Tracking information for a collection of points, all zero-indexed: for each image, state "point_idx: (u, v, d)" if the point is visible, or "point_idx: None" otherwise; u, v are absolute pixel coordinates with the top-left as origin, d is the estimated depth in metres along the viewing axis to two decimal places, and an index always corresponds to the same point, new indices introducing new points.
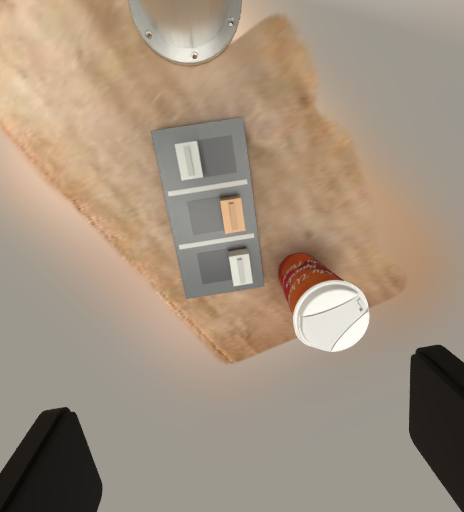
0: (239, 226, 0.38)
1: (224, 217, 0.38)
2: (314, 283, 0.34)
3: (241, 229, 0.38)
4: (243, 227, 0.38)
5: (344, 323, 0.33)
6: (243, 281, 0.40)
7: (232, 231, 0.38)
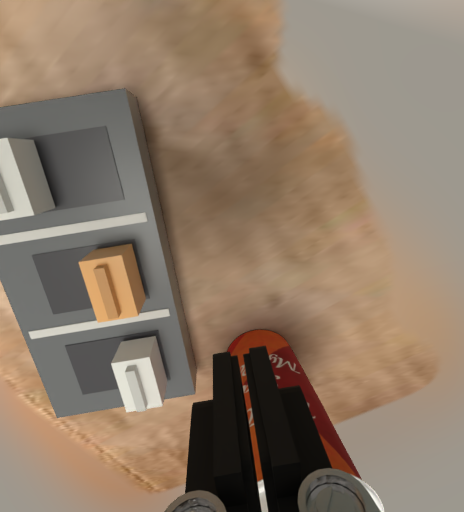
0: (123, 308, 0.19)
1: (91, 292, 0.19)
2: None
3: (129, 314, 0.19)
4: (133, 310, 0.19)
5: None
6: (141, 407, 0.21)
7: None
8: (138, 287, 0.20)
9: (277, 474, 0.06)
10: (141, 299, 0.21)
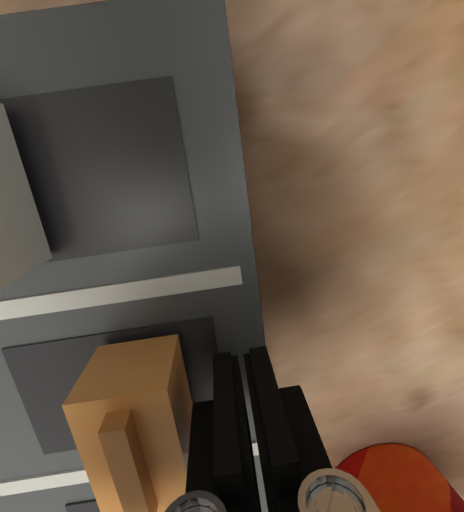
0: (164, 496, 0.08)
1: (92, 468, 0.08)
2: None
3: None
4: None
5: None
6: None
7: None
8: None
9: (277, 474, 0.06)
10: None
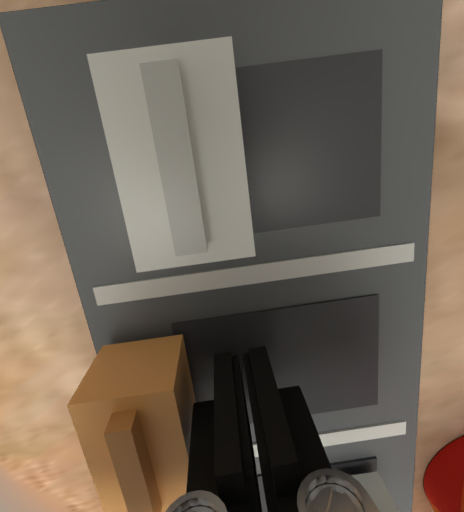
0: (169, 497, 0.08)
1: (97, 468, 0.08)
2: None
3: None
4: None
5: None
6: None
7: None
8: None
9: (276, 474, 0.06)
10: None
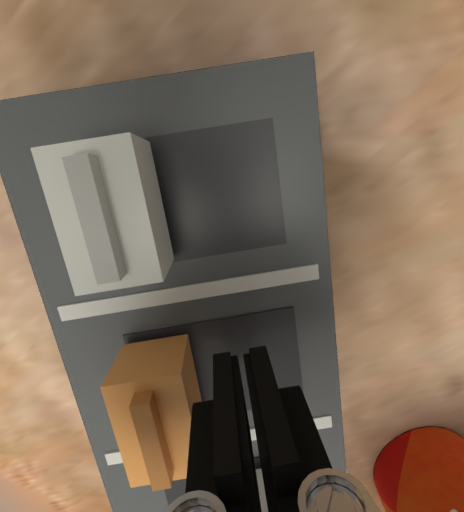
0: (179, 463, 0.11)
1: (122, 439, 0.10)
2: None
3: None
4: None
5: None
6: None
7: None
8: None
9: (277, 474, 0.06)
10: None
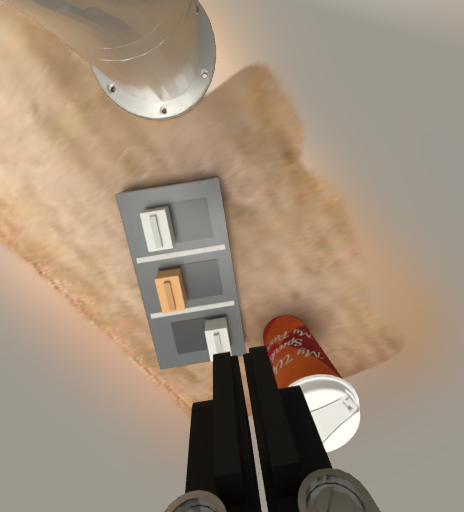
0: (177, 305, 0.34)
1: (160, 296, 0.34)
2: (297, 374, 0.30)
3: (180, 308, 0.34)
4: (182, 306, 0.34)
5: (331, 423, 0.29)
6: None
7: (170, 310, 0.34)
8: (184, 293, 0.35)
9: (277, 474, 0.06)
10: (185, 300, 0.36)
